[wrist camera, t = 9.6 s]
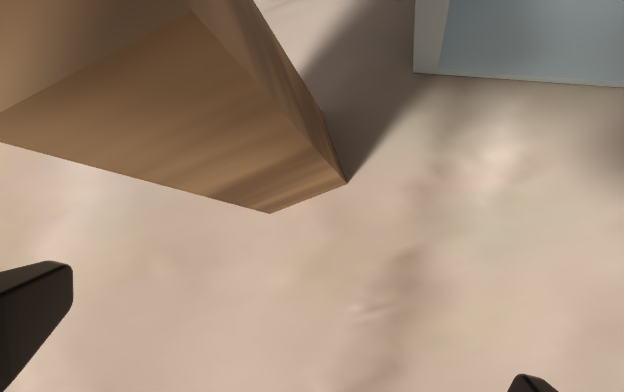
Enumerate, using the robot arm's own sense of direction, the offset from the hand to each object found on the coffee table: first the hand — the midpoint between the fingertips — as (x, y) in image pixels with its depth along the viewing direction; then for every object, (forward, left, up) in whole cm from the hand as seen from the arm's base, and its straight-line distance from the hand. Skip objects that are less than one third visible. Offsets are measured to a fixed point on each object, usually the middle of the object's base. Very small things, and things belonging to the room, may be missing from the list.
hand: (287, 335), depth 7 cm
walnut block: (+7, +1, -11) cm, 13 cm away
